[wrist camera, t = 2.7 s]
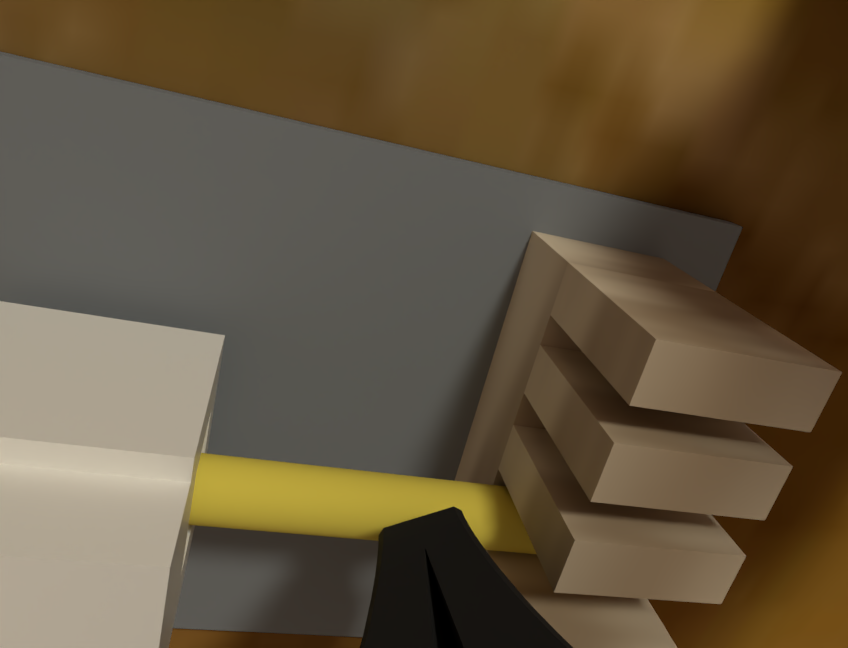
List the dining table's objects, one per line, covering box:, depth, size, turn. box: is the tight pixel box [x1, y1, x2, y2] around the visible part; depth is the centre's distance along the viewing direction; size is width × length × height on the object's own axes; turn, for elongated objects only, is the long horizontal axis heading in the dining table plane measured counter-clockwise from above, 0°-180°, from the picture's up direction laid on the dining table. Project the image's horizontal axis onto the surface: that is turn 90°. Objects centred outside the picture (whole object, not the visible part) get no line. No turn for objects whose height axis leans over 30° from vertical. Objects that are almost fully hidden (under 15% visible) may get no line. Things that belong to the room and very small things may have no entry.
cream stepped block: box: [0, 301, 225, 648], centre depth 10 cm, size 4×4×6 cm
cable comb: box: [454, 231, 842, 648], centre depth 13 cm, size 3×10×5 cm, turn 166°
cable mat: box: [0, 52, 743, 637], centre depth 13 cm, size 27×12×1 cm, turn 76°
